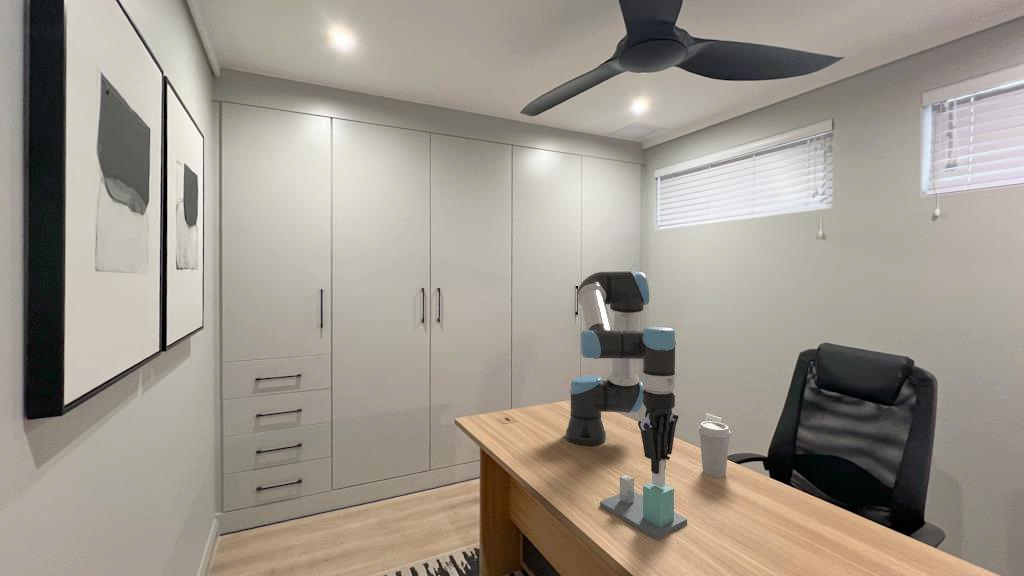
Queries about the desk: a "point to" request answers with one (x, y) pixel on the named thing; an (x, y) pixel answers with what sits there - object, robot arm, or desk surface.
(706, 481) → the desk surface
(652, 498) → the tall teal pillar
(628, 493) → the post
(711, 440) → the coffee cup
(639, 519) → the slate board
